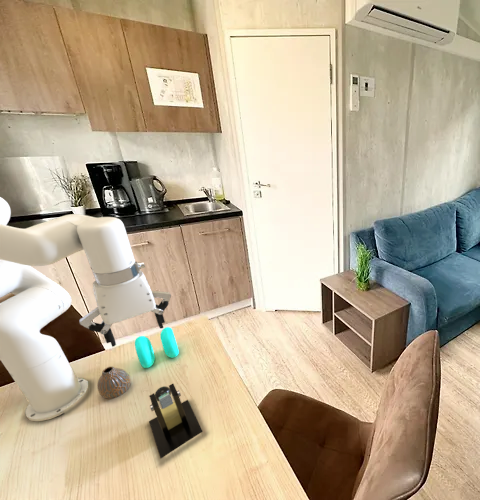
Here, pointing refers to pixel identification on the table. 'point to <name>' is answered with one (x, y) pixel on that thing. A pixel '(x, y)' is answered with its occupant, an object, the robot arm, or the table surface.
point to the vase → (113, 382)
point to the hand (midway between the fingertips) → (138, 334)
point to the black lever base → (177, 434)
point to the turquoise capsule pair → (146, 349)
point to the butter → (171, 416)
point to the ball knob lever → (164, 396)
